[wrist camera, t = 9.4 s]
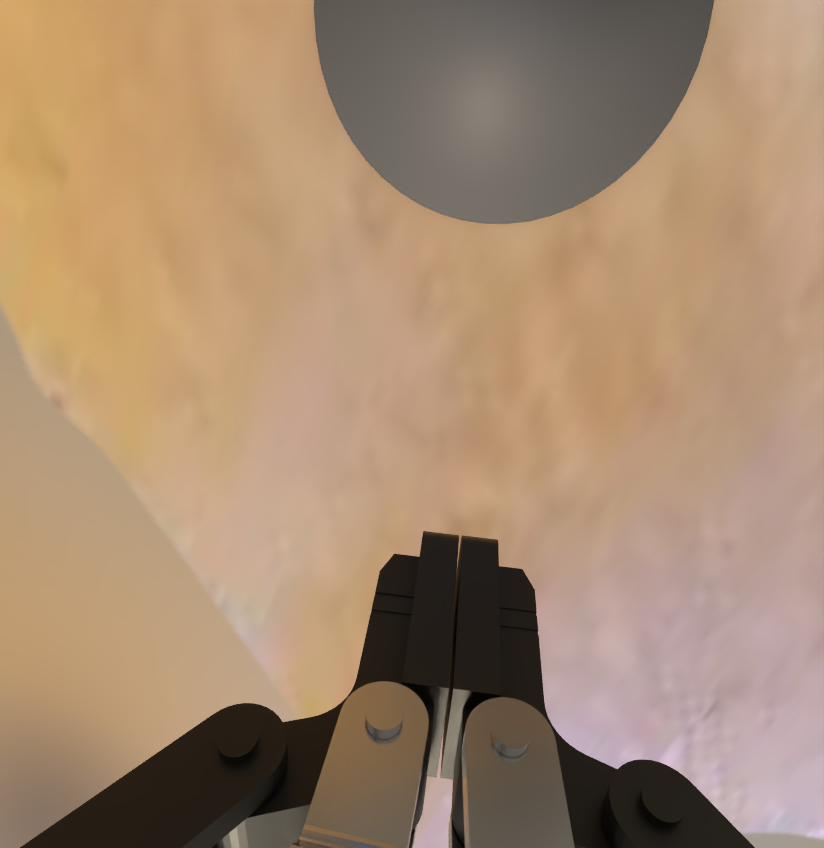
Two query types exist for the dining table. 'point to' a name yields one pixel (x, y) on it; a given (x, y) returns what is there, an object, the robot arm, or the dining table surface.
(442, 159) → the disc
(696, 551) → the dining table surface
